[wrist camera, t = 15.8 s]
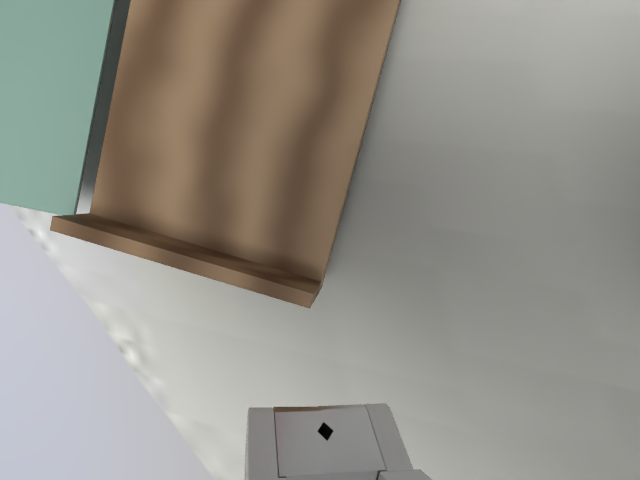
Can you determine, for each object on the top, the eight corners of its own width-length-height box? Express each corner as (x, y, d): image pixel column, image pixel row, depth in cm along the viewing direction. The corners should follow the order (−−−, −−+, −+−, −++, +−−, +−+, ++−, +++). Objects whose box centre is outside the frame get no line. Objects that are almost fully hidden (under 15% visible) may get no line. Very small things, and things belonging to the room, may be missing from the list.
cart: (412, -34, 34) (425, -113, 25) (325, 280, 38) (309, 308, 29) (185, -85, 36) (123, -175, 27) (123, 221, 39) (49, 230, 31)
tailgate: (138, -131, 30) (-71, -224, 27) (73, 217, 34) (-120, 178, 30) (141, -117, 32) (-55, -202, 28) (78, 213, 35) (-104, 176, 32)
